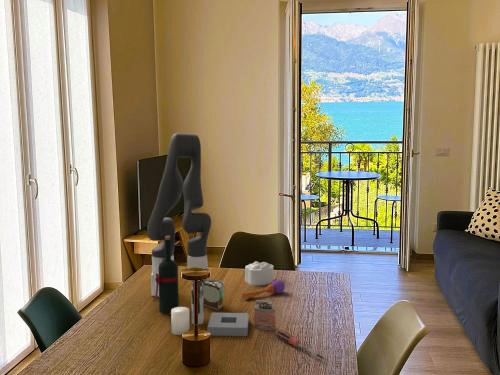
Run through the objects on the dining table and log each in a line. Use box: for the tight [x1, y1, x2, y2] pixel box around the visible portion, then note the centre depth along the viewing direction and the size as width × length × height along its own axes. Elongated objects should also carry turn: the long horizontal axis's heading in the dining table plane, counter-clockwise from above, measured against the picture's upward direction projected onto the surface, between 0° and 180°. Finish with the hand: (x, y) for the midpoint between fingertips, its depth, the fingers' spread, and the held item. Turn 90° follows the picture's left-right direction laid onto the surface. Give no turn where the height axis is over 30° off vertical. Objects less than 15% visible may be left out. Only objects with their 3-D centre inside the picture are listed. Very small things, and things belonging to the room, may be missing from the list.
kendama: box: [242, 279, 286, 301], centre depth 230 cm, size 6×6×20 cm
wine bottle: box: [152, 236, 180, 315], centre depth 210 cm, size 8×10×30 cm
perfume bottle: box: [253, 299, 276, 331], centre depth 195 cm, size 8×3×10 cm, turn 71°
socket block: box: [206, 312, 250, 337], centre depth 195 cm, size 14×14×3 cm
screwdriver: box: [275, 329, 326, 360], centre depth 178 cm, size 25×3×3 cm, turn 34°
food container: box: [203, 278, 226, 311], centre depth 217 cm, size 12×6×10 cm, turn 47°
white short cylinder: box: [170, 306, 191, 336], centre depth 191 cm, size 6×6×8 cm
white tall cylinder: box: [190, 295, 205, 325], centre depth 200 cm, size 4×4×10 cm
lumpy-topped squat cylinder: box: [244, 261, 275, 286], centre depth 250 cm, size 10×13×9 cm
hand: (197, 310), depth 200 cm, fingers open, 4 cm apart
